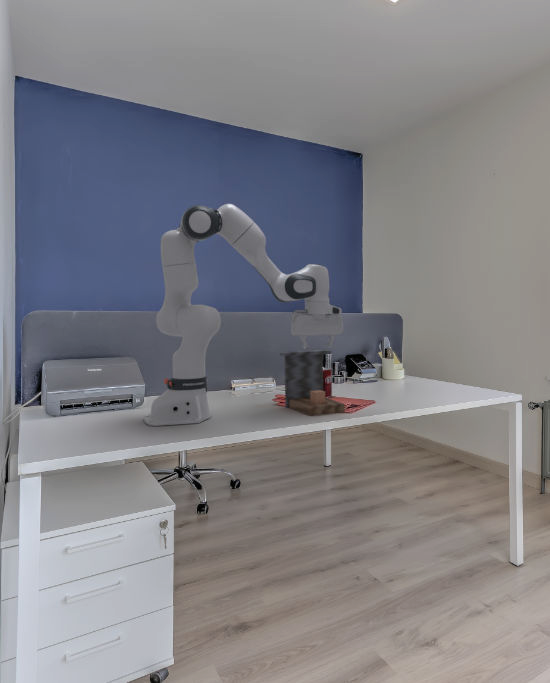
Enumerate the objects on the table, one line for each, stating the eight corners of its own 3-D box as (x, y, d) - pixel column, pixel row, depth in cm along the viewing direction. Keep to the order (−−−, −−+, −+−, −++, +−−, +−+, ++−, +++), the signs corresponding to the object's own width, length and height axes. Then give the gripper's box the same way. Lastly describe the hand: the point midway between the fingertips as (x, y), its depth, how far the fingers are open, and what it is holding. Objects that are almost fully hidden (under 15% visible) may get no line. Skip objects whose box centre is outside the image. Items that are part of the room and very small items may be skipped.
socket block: (302, 417, 159) (302, 356, 158) (280, 407, 176) (279, 352, 175) (351, 411, 168) (351, 353, 166) (326, 402, 184) (325, 349, 183)
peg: (315, 411, 167) (315, 392, 167) (310, 409, 171) (310, 391, 170) (325, 410, 169) (325, 391, 168) (319, 408, 173) (319, 390, 172)
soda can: (331, 395, 199) (331, 367, 198) (332, 398, 192) (332, 369, 191) (314, 395, 200) (314, 367, 199) (314, 398, 193) (314, 369, 192)
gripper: (295, 309, 160) (295, 349, 161) (345, 309, 169) (345, 347, 170) (287, 310, 166) (287, 348, 167) (336, 309, 174) (336, 346, 175)
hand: (317, 347), depth 168 cm, fingers open, 8 cm apart
